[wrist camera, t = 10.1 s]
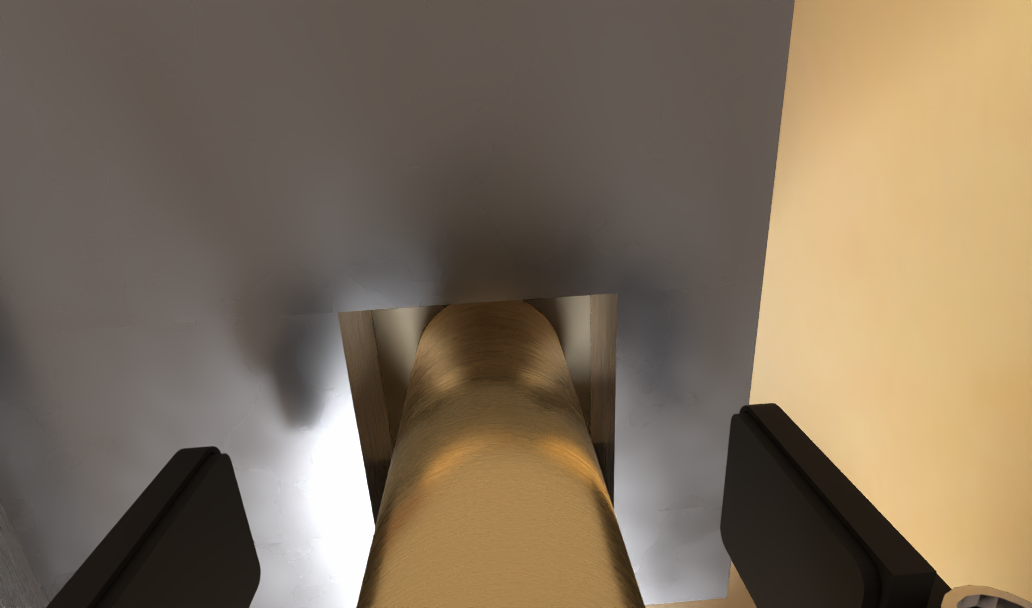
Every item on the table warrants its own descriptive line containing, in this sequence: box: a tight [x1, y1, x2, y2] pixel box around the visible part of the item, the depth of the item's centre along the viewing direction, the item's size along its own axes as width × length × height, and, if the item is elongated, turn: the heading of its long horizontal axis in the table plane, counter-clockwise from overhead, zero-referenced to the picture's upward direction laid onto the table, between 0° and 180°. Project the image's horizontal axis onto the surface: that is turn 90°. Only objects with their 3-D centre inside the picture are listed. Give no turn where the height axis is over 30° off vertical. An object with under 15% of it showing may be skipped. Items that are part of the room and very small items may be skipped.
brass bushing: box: [356, 300, 645, 608], centre depth 11 cm, size 4×4×10 cm
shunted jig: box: [0, 0, 795, 608], centre depth 12 cm, size 16×20×5 cm
